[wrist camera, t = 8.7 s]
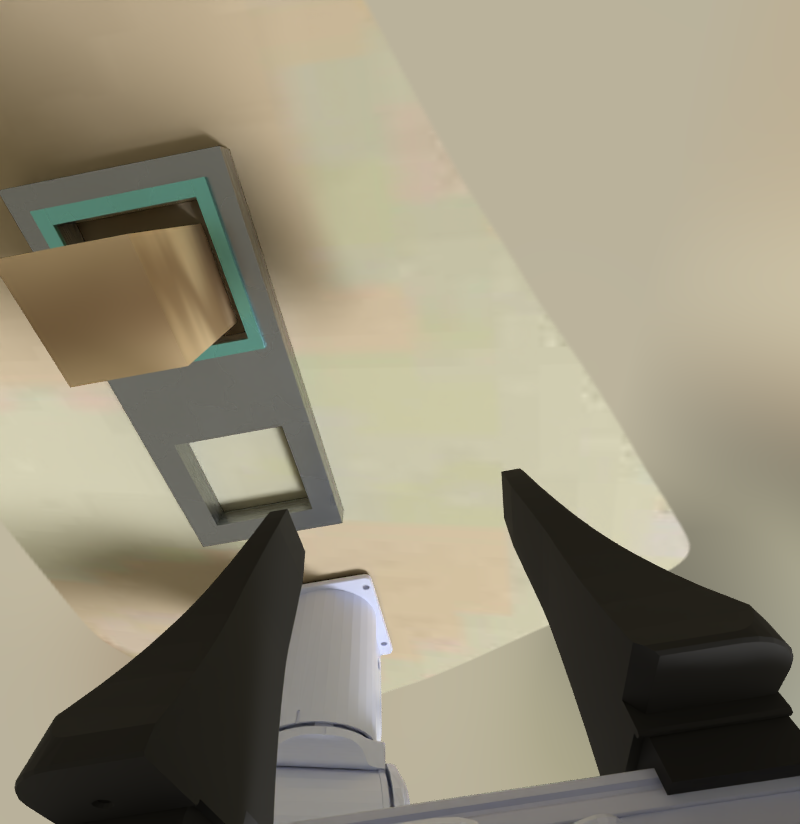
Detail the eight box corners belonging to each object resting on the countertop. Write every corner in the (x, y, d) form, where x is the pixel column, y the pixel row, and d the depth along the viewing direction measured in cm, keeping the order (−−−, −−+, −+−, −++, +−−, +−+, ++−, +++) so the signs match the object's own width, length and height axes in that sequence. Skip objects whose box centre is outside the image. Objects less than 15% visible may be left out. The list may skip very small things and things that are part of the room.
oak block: (237, 321, 20) (188, 365, 15) (150, 337, 20) (70, 387, 15) (201, 223, 18) (127, 233, 12) (104, 242, 18) (-10, 259, 12)
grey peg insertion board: (343, 509, 26) (342, 525, 25) (210, 532, 26) (202, 549, 25) (229, 149, 16) (217, 145, 15) (21, 191, 17) (-7, 190, 15)
